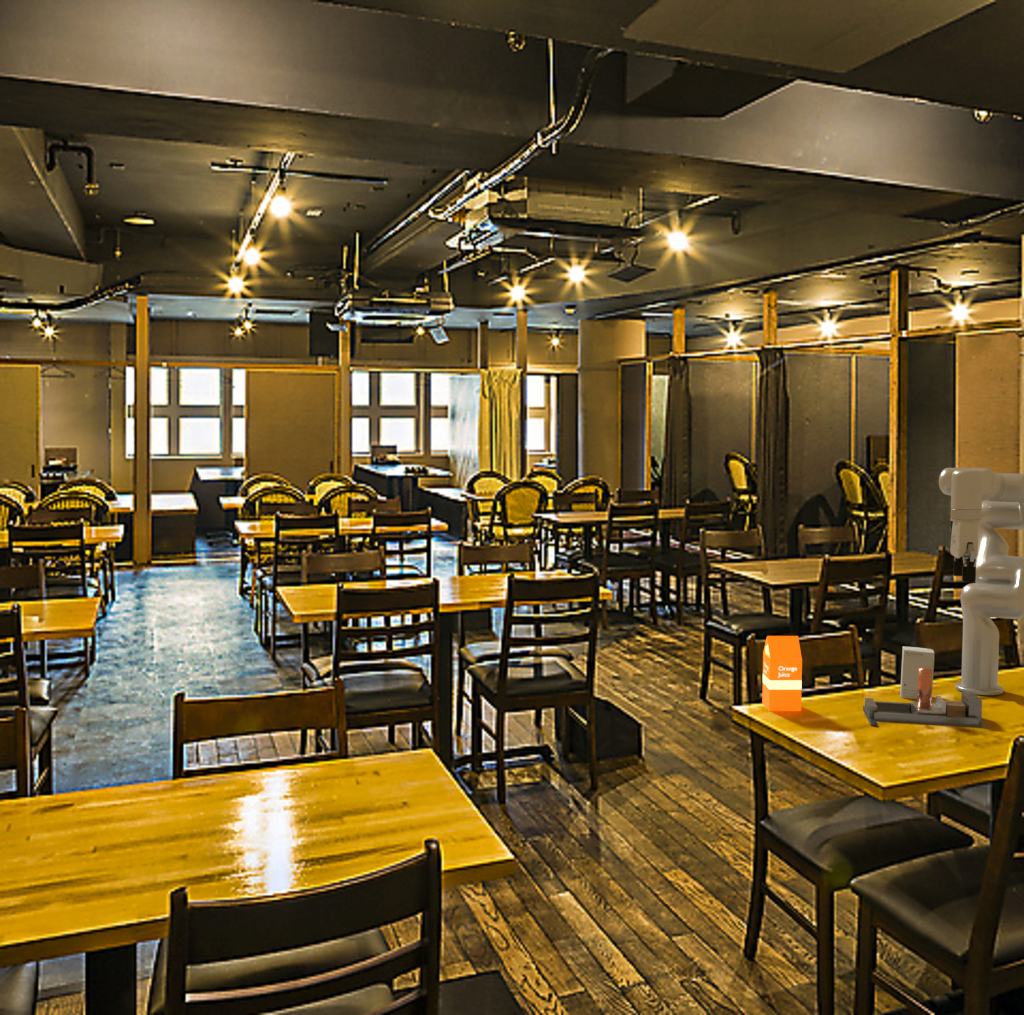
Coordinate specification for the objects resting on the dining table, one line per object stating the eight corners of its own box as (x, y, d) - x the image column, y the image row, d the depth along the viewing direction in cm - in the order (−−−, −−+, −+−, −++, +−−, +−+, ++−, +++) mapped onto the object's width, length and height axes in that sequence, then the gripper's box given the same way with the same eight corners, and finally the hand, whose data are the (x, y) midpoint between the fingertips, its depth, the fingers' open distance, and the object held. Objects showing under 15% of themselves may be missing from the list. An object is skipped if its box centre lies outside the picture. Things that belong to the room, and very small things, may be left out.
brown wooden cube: (942, 715, 243) (943, 700, 243) (960, 716, 242) (961, 701, 242) (946, 720, 239) (947, 705, 238) (965, 721, 238) (965, 706, 237)
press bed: (862, 710, 252) (863, 684, 252) (974, 716, 246) (975, 689, 245) (870, 725, 239) (871, 698, 238) (988, 732, 232) (989, 704, 232)
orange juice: (801, 711, 252) (802, 638, 250) (769, 711, 252) (770, 639, 250) (793, 703, 259) (794, 632, 258) (761, 703, 260) (762, 632, 258)
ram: (911, 710, 246) (912, 664, 245) (939, 712, 245) (940, 666, 244) (916, 719, 239) (918, 672, 238) (946, 720, 237) (947, 673, 236)
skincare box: (900, 701, 260) (902, 649, 259) (899, 696, 265) (901, 645, 264) (933, 704, 257) (934, 652, 256) (931, 698, 262) (933, 647, 261)
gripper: (943, 512, 257) (942, 573, 259) (958, 518, 240) (956, 583, 242) (972, 512, 255) (971, 574, 257) (990, 518, 239) (988, 584, 240)
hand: (964, 578), depth 249 cm, fingers open, 9 cm apart
